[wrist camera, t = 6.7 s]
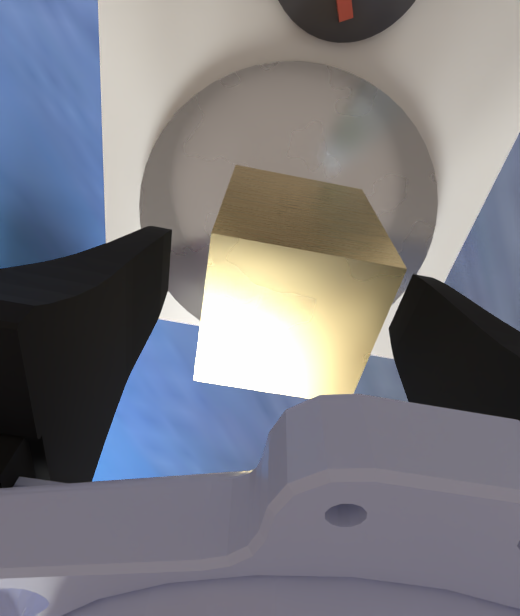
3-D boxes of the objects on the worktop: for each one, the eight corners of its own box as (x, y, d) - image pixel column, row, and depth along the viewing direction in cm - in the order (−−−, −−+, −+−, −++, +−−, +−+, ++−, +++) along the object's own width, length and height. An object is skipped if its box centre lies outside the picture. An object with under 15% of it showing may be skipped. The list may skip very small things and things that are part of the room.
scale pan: (488, 99, 13) (496, 101, 13) (374, 356, 19) (377, 364, 19) (147, 26, 12) (142, 25, 12) (141, 316, 18) (137, 324, 18)
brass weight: (362, 189, 14) (407, 269, 9) (327, 296, 17) (348, 405, 12) (235, 164, 14) (211, 233, 9) (219, 277, 16) (193, 380, 11)
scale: (608, -129, 12) (681, -166, 9) (394, 335, 21) (407, 367, 19) (117, -256, 11) (78, -329, 9) (122, 288, 20) (104, 316, 18)
